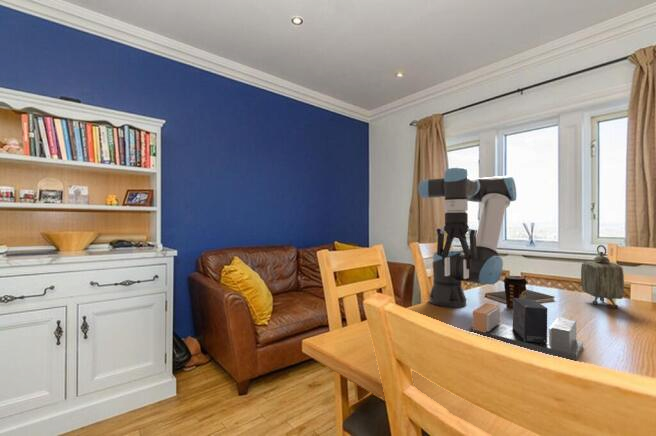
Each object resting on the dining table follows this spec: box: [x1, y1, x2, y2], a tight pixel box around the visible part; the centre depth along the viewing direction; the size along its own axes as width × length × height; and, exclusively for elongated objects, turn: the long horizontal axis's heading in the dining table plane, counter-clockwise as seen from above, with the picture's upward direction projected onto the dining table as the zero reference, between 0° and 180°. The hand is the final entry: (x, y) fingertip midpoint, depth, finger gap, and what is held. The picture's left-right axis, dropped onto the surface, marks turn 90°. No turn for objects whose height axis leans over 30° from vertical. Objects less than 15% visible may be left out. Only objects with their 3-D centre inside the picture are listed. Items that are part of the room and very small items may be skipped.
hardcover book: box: [484, 288, 556, 304], centre depth 144 cm, size 16×23×2 cm
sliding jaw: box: [472, 303, 501, 333], centre depth 105 cm, size 5×12×6 cm, turn 135°
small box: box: [511, 298, 548, 343], centre depth 97 cm, size 11×6×10 cm, turn 167°
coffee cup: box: [502, 275, 529, 311], centre depth 129 cm, size 9×8×13 cm
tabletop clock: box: [580, 244, 625, 309], centre depth 132 cm, size 14×9×25 cm, turn 162°
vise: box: [468, 316, 584, 362], centre depth 98 cm, size 28×12×8 cm, turn 45°
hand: (456, 276), depth 112 cm, fingers open, 6 cm apart
